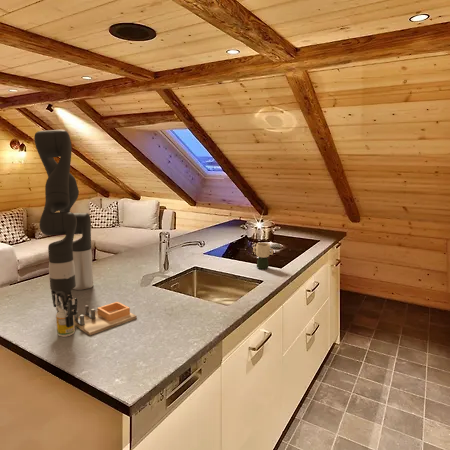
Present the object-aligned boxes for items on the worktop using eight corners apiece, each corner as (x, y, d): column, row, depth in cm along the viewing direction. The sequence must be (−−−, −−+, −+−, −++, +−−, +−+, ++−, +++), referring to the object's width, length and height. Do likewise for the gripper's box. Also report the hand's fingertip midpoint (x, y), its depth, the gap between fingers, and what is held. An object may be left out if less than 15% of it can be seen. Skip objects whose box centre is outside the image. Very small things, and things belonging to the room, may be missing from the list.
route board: (70, 322, 129) (69, 319, 128) (115, 307, 142) (115, 304, 142) (89, 335, 119) (89, 332, 119) (136, 318, 132) (136, 315, 132)
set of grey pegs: (71, 319, 129) (70, 310, 128) (88, 314, 133) (87, 305, 132) (81, 326, 124) (80, 316, 123) (98, 320, 128) (98, 310, 127)
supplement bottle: (71, 337, 118) (69, 309, 116) (54, 337, 118) (52, 309, 116) (77, 329, 123) (76, 302, 122) (61, 329, 123) (59, 302, 122)
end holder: (97, 314, 133) (97, 307, 133) (117, 307, 139) (117, 301, 138) (109, 321, 128) (109, 314, 127) (129, 314, 133) (129, 307, 133)
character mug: (274, 267, 195) (275, 244, 193) (270, 271, 189) (270, 247, 187) (255, 265, 200) (256, 241, 198) (250, 268, 194) (251, 244, 191)
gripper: (41, 271, 119) (45, 320, 122) (60, 282, 109) (64, 334, 113) (63, 266, 124) (67, 313, 128) (84, 276, 115) (87, 326, 118)
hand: (65, 323), depth 120 cm, fingers closed on supplement bottle, 5 cm apart
